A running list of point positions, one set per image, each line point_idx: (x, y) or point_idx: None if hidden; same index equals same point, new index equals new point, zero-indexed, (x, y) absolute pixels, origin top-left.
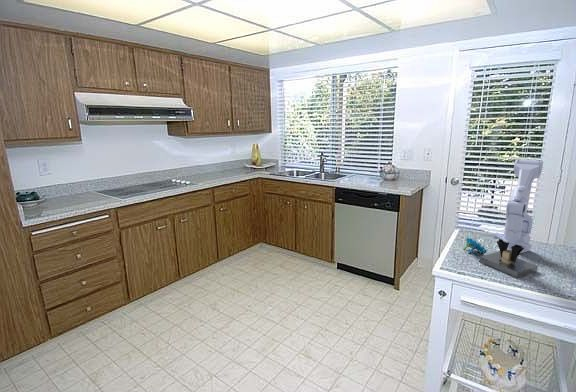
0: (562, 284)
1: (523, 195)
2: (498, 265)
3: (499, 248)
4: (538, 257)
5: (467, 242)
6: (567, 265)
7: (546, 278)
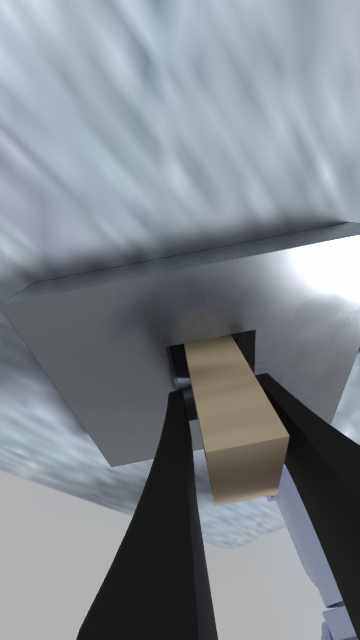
0: None
1: None
2: (190, 263)
3: (357, 447)
4: None
5: None
6: None
7: (36, 423)
